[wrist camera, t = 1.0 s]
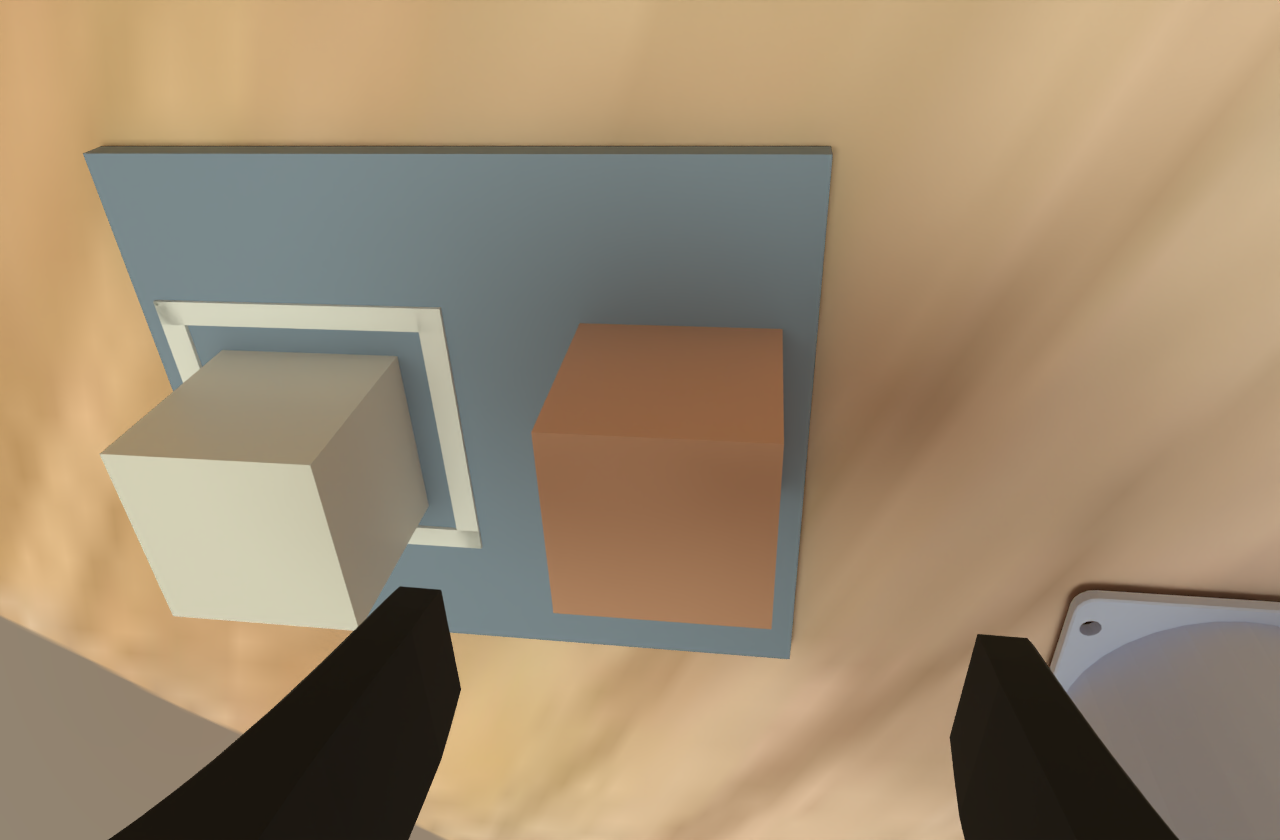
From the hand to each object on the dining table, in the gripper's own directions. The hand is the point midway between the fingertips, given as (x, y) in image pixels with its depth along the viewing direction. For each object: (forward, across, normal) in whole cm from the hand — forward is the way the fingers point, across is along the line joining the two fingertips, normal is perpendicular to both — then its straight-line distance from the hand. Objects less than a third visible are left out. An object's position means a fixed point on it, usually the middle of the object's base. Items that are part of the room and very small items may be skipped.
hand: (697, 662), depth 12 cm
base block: (+9, +10, +3) cm, 14 cm away
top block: (+9, +1, +2) cm, 9 cm away
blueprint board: (+9, +6, +3) cm, 12 cm away
